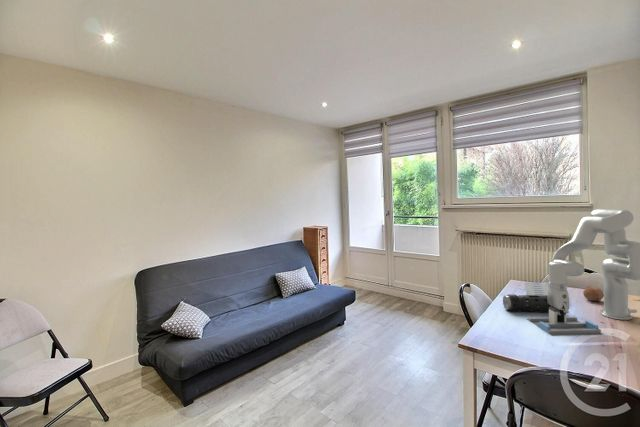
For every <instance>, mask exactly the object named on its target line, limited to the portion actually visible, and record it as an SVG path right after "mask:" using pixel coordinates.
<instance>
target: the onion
mask: <svg viewBox="0 0 640 427" xmlns="http://www.w3.org/2000/svg"><path fill="white" fill-rule="evenodd" d="M582 294H583V296H584V298H585V299H586V300H587V301H590V302H593V301H594V302H595V303H598V302H600V301H601V300H603V299H604V291H602V289H600V288H598V287H594V286H592V285H588V286H587V287H586V288H585V289H584V290H583V293H582Z"/></svg>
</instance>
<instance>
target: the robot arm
mask: <svg viewBox="0 0 640 427" xmlns="http://www.w3.org/2000/svg"><path fill="white" fill-rule="evenodd" d="M633 221H634V214H633V212H632V211H630V210H626V209H610V208H609V209H608V208H600V209H594V210H592V211H591V212H590V216H584V217H582V218H581V219H580V220H579V223H578V225H577V227H576V229H575V231H574V233H573V236H572V238H571V239H570V241H568V242H567V243H564V244H563V245H562V246H560V247H558V249H557V250H556V251H555V253H554V254H553V256H552V258H551V261H550V262H549V263H548V271H547V272H548V276H547V277H548V278H547V279H548V281H547V282H548V294H547V303H548V305H549V307H555V308H557V309H558V315H557V322H559V323H561V322H564V315H565V314H566V315H567V314H568V313H569V310H570V307H571V306H570V305H571V304H570V295H569V292H568V289H567V288H568V283H567V282H568V280H567V279H568V277H580V276H582V275H583V274H584V273H585V267H584V265H583V264H582V263H580V262H577V261H574V260H573V261H572V260H569V259H566V258H567V257H568V256H570V255H571V254H573V253H576V252H578V251H580V252H581V251H583V250H588V249H590V248H591V247H592V246H593V243H594V241H595V239H596V237H597V234H603V241H604V242H603V245H604V251H605V254H606V255H607V256H611V257H614V258H611V257H609V258H606V259H604V260H603V261H602V262H601V271H602V274H603V276H602V277H603V294H604V297H603V309H601V310H599V314H600V315H602V316H603V317H606V318H609V319H613V320H621V321H622V320H623V321H630V320H632V319H633V315H631V314H636V313H638V310H637V309H635V308H632V309H631V308H630V307H629V284H628V281H627V280H632V281H638V282H639V281H640V241H639V242H638V241H635V240H627V235H626V229H625V228H627V227H628V226H631V224H632V223H633ZM619 258H620V259H619ZM621 258H622V259H621ZM626 259H627V260H626ZM560 310H562V311H560Z"/></svg>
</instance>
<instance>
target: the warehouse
mask: <svg viewBox="0 0 640 427" xmlns="http://www.w3.org/2000/svg"><path fill="white" fill-rule="evenodd" d="M524 293H525V294H524V295H536V296H547V294H548V281H547V282H544V281H543V282H539V281H538V282H524Z"/></svg>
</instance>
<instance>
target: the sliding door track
mask: <svg viewBox="0 0 640 427" xmlns="http://www.w3.org/2000/svg"><path fill="white" fill-rule="evenodd" d="M526 320H527V321H528V322H530V323H532V324H533V325H535V326H536V327H538V328H539V329H540V330H542V331H544V332H545V333H547V334H549V335H550V336H552V337H560V336H561V337H563V336H564V337H566V336H567V337H570V336H571V337H572V336H605V334H603V333H602V329H600V328H599V325H598V324H596V323H594V322H592V321H590V320H585V321H584V322H583V321H582V322H580V321H579V320H578V317H577V316H566V323H550V322H549V316H547V317H546V316H545V317H544V316H543V317H542V316H541V317H540V316H539V317H528V318H526Z"/></svg>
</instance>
